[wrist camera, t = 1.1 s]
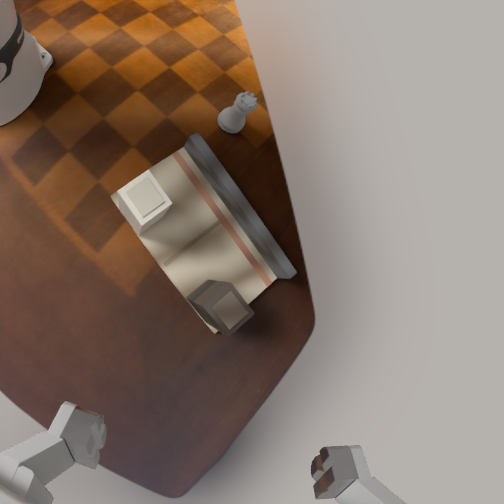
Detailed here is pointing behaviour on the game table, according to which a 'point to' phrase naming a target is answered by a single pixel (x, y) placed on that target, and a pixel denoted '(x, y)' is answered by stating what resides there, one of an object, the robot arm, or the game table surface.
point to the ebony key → (220, 306)
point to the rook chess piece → (237, 113)
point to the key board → (210, 228)
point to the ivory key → (143, 202)
